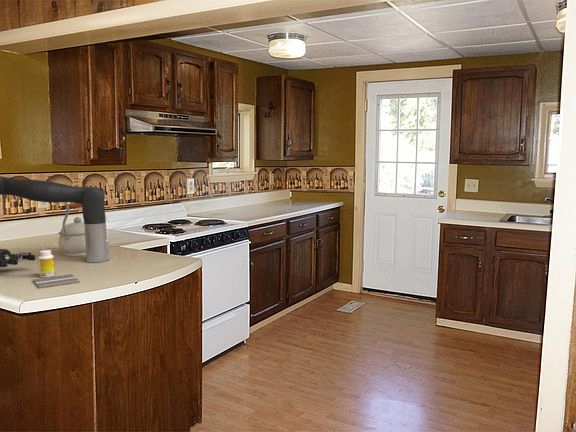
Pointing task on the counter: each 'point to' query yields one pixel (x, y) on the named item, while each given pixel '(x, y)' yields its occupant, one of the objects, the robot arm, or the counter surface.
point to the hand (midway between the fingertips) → (26, 259)
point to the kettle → (72, 235)
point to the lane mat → (55, 281)
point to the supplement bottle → (46, 264)
